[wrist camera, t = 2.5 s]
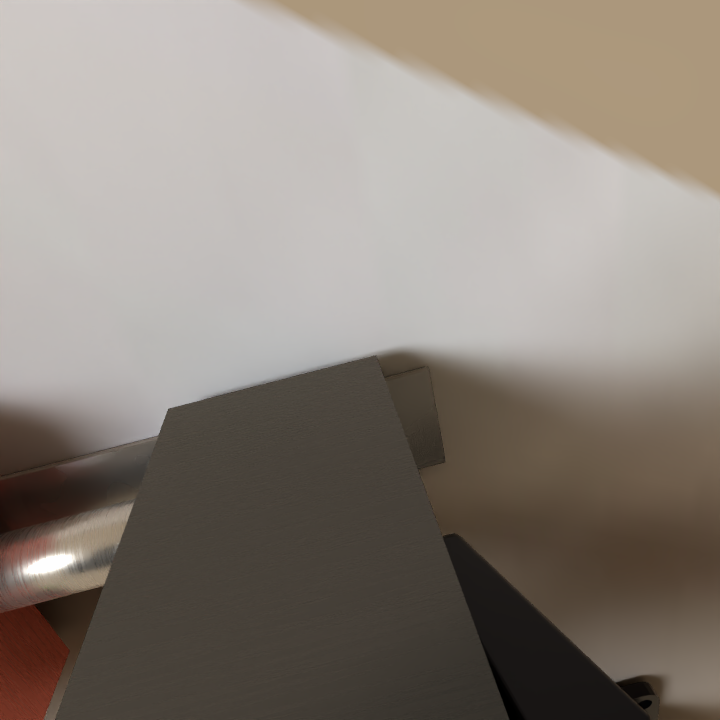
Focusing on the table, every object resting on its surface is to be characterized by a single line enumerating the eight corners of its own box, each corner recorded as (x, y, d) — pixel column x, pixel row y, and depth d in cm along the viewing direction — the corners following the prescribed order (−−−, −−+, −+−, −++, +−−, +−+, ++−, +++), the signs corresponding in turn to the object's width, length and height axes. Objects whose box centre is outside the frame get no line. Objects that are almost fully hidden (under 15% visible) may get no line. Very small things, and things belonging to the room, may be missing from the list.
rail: (427, 366, 11) (429, 369, 11) (443, 457, 12) (445, 462, 12) (-155, 516, 10) (-160, 522, 10) (-82, 595, 12) (-87, 601, 11)
